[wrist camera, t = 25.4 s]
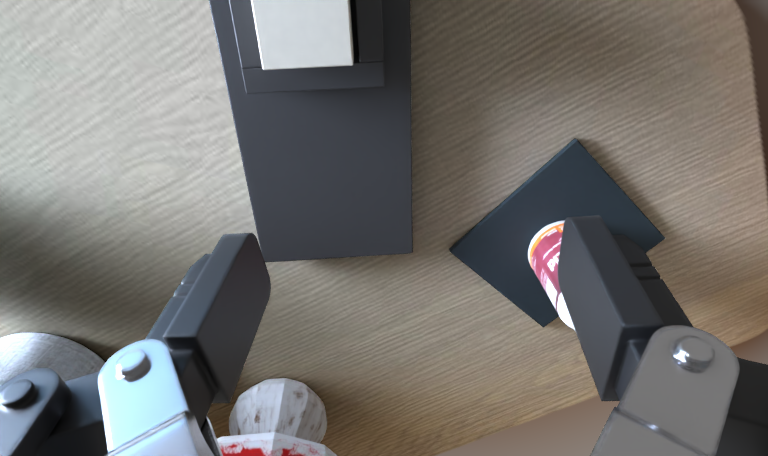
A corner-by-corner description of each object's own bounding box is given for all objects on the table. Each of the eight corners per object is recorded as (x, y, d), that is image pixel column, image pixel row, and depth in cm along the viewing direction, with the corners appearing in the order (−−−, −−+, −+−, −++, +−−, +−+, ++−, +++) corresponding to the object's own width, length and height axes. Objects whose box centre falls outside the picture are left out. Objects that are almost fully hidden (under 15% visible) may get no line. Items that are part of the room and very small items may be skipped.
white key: (347, -39, 20) (346, -40, 18) (353, 56, 22) (353, 65, 20) (257, -35, 20) (244, -35, 18) (271, 60, 22) (262, 70, 20)
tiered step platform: (406, -74, 23) (415, -82, 19) (410, 240, 32) (416, 273, 28) (204, -65, 22) (177, -72, 19) (267, 249, 32) (256, 283, 28)
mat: (574, 138, 29) (577, 139, 28) (662, 235, 33) (665, 238, 32) (448, 248, 32) (449, 251, 32) (541, 324, 36) (543, 327, 36)
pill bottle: (585, 207, 31) (655, 281, 23) (597, 260, 33) (665, 342, 26) (517, 233, 31) (566, 312, 24) (534, 283, 34) (583, 369, 26)
